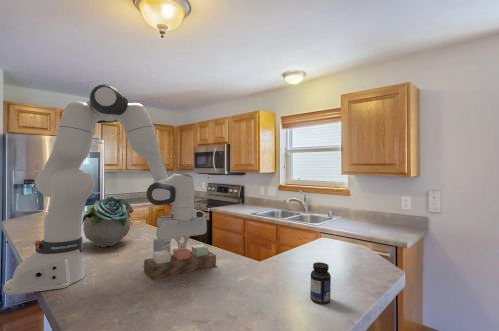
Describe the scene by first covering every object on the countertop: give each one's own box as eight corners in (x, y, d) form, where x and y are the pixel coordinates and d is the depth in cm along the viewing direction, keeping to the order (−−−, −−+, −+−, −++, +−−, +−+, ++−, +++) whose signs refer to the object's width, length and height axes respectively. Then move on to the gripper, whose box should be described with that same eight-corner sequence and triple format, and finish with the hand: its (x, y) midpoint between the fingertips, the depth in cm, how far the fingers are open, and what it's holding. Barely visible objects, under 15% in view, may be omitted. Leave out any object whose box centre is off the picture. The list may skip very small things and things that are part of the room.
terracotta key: (177, 263, 108) (178, 252, 108) (172, 260, 112) (173, 249, 112) (189, 261, 111) (190, 250, 111) (184, 258, 115) (184, 247, 115)
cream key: (157, 267, 103) (157, 255, 103) (152, 264, 107) (153, 252, 107) (170, 265, 106) (170, 253, 106) (165, 261, 110) (165, 250, 110)
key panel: (152, 279, 100) (152, 267, 100) (143, 271, 108) (144, 259, 108) (215, 266, 115) (216, 255, 115) (204, 259, 123) (204, 249, 123)
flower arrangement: (141, 239, 154) (142, 195, 154) (118, 253, 129) (120, 200, 129) (96, 238, 154) (97, 194, 154) (65, 251, 129) (67, 198, 129)
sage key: (196, 260, 113) (197, 249, 113) (191, 256, 117) (191, 246, 117) (207, 258, 116) (207, 247, 116) (202, 255, 120) (202, 244, 120)
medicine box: (162, 259, 122) (162, 239, 122) (152, 258, 123) (153, 238, 123) (170, 254, 129) (171, 235, 130) (161, 253, 130) (162, 234, 130)
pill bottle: (326, 295, 90) (327, 261, 91) (333, 304, 84) (333, 268, 84) (308, 295, 90) (308, 261, 90) (312, 304, 84) (313, 268, 84)
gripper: (160, 217, 103) (159, 254, 103) (208, 212, 116) (208, 245, 116) (154, 214, 108) (153, 250, 108) (201, 210, 121) (200, 242, 121)
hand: (182, 247), depth 112 cm, fingers closed
